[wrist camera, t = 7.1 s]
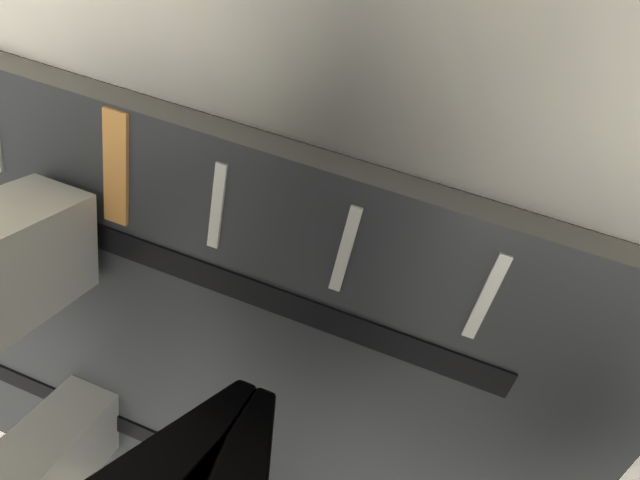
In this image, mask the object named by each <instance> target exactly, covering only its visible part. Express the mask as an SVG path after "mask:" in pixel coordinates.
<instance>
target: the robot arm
mask: <svg viewBox="0 0 640 480" xmlns="http://www.w3.org/2000/svg"><path fill="white" fill-rule="evenodd" d="M275 404H276V394H275V393H274V392H271V391H268V390H266V389H263V388H260V387H259V388H257V387H256V386H255V385H253V384H251V383H248V382H246V381H243V380H237V381H235V382H233V383H232V384H230V385H229V386H227V387H226V388H224V389H223V390H221V391H219V392H218V393H216V394H215V395H213V396H212V397H210V398H209V399H207V400H206V401H204V402H203V403H201V404H199V405H198V406H196V407H195V408H193V409H192V410H190V411H189V412H187V413H186V414H184V415H183V416H181V417H180V418H178V419H176V420H175V421H173V422H172V423H170V424H169V425H167V426H166V427H164V428H163V429H161V430H160V431H158V432H156V433H155V434H153V435H152V436H150V437H149V438H147V439H146V440H144V441H143V442H141V443H140V444H138V445H137V446H135V447H133V448H132V449H130V450H129V451H127V452H126V453H124V454H123V455H121V456H120V457H118V458H117V459H115V460H113V461H112V462H110V463H109V464H107V465H106V466H104V467H103V468H101V469H100V470H98V471H97V472H95V473H94V474H92V475H90V476H89V477H87V478H86V479H84V480H269V473H270V462H271V450H272V439H273V427H274V416H275Z"/></svg>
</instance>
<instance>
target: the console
mask: <svg viewBox="0 0 640 480" xmlns="http://www.w3.org/2000/svg"><path fill="white" fill-rule="evenodd" d="M33 173H36V174H39V175H41V176H44V177H47V178H50V179H53V180H56V181H59V182H61V183H64V184H67V185H70V186H73V187H76V188H79V189H82V190H84V191H87V192H90V193H93V194H96V205H97V237H98V270H99V284H97V285H96V286H94V287H93V288H92V289H90V290H89V291H87V292H86V293H85V294H83V295H82V296H80V297H79V298H78V299H76V300H75V301H73V302H72V303H71V304H69V305H68V306H66V307H65V308H64V309H62V310H61V311H59V312H58V313H57V314H55V315H54V316H52V317H51V318H50V319H48V320H47V321H45V322H44V323H43V324H41V325H40V326H38V327H37V328H36V329H34V330H33V331H31V332H30V333H29V334H27V335H26V336H24V337H23V338H22V339H20V340H19V341H17V342H16V343H15V344H13V345H12V346H10V347H9V348H8V349H6V350H5V351H3V352H2V353H1V354H0V431H2V432H4V433H6V434H5V435H4V436H2V437H1V438H0V480H84V479H86V478H87V477H89V476H90V475H92V474H94V473H95V472H97V471H98V470H100V469H101V468H103V467H104V466H106V465H107V464H109V463H110V462H112V461H113V460H115V459H117V458H118V457H120V456H121V455H123V454H124V453H126V452H127V451H129V450H130V449H132V448H133V447H135V446H137V445H138V444H140V443H141V442H143V441H144V440H146V439H147V438H149V437H150V436H152V435H153V434H155V433H156V432H158V431H160V430H161V429H163V428H164V427H166V426H167V425H169V424H170V423H172V422H173V421H175V420H176V419H178V418H180V417H181V416H183V415H184V414H186V413H187V412H189V411H190V410H192V409H193V408H195V407H196V406H198V405H199V404H201V403H203V402H204V401H206V400H207V399H209V398H210V397H212V396H213V395H215V394H216V393H218V392H219V391H221V390H223V389H224V388H226V387H227V386H229V385H230V384H232V383H233V382H235V381H237V380H243V381H246V382H248V383H251V384H253V385H255V386H256V387H257V388H259V387H260V388H263V389H266V390H268V391H271V392H274V393H275V394H276V404H275V416H274V427H273V439H272V450H271V462H270V473H269V480H619V479H620V477H621V476H622V475H623V474H624V473H625V472H626V471H627V469H628V468H629V467H630V466H631V465H632V464H633V463H634V461H635V460H636V459H637V458H638V457H639V456H640V245H638V244H634V243H631V242H628V241H625V240H621V239H618V238H615V237H611V236H608V235H605V234H601V233H598V232H595V231H592V230H588V229H585V228H582V227H578V226H575V225H572V224H569V223H565V222H562V221H559V220H555V219H552V218H549V217H546V216H542V215H539V214H536V213H532V212H529V211H526V210H522V209H519V208H516V207H513V206H509V205H506V204H503V203H499V202H496V201H493V200H490V199H486V198H483V197H480V196H476V195H473V194H470V193H467V192H463V191H460V190H457V189H453V188H450V187H447V186H443V185H440V184H437V183H434V182H430V181H427V180H424V179H420V178H417V177H414V176H411V175H407V174H404V173H401V172H397V171H394V170H391V169H388V168H384V167H381V166H378V165H374V164H371V163H368V162H364V161H361V160H358V159H355V158H351V157H348V156H345V155H341V154H338V153H335V152H332V151H328V150H325V149H322V148H318V147H315V146H312V145H309V144H305V143H302V142H299V141H295V140H292V139H289V138H285V137H282V136H279V135H276V134H272V133H269V132H266V131H262V130H259V129H256V128H253V127H249V126H246V125H243V124H239V123H236V122H233V121H230V120H226V119H223V118H220V117H216V116H213V115H210V114H206V113H203V112H200V111H197V110H193V109H190V108H187V107H183V106H180V105H177V104H174V103H170V102H167V101H164V100H160V99H157V98H154V97H151V96H147V95H144V94H141V93H137V92H134V91H131V90H127V89H124V88H121V87H118V86H114V85H111V84H108V83H104V82H101V81H98V80H95V79H91V78H88V77H85V76H81V75H78V74H75V73H72V72H68V71H65V70H62V69H58V68H55V67H52V66H48V65H45V64H42V63H39V62H35V61H32V60H29V59H25V58H22V57H19V56H16V55H12V54H9V53H6V52H2V51H0V185H2V184H5V183H8V182H11V181H13V180H16V179H19V178H22V177H25V176H28V175H30V174H33Z"/></svg>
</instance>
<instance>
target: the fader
mask: <svg viewBox="0 0 640 480" xmlns="http://www.w3.org/2000/svg"><path fill="white" fill-rule="evenodd" d="M97 284H99V270H98V237H97V205H96V194H93V193H90V192H87V191H84V190H82V189H79V188H76V187H73V186H70V185H67V184H64V183H61V182H59V181H56V180H53V179H50V178H47V177H44V176H41V175H39V174H36V173H33V174H30V175H28V176H25V177H22V178H19V179H16V180H13V181H11V182H8V183H5V184H2V185H0V354H1V353H2V352H3V351H5V350H6V349H8V348H9V347H10V346H12V345H13V344H15V343H16V342H17V341H19V340H20V339H22V338H23V337H24V336H26V335H27V334H29V333H30V332H31V331H33V330H34V329H36V328H37V327H38V326H40V325H41V324H43V323H44V322H45V321H47V320H48V319H50V318H51V317H52V316H54V315H55V314H57V313H58V312H59V311H61V310H62V309H64V308H65V307H66V306H68V305H69V304H71V303H72V302H73V301H75V300H76V299H78V298H79V297H80V296H82V295H83V294H85V293H86V292H87V291H89V290H90V289H92V288H93V287H94V286H96V285H97Z"/></svg>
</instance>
